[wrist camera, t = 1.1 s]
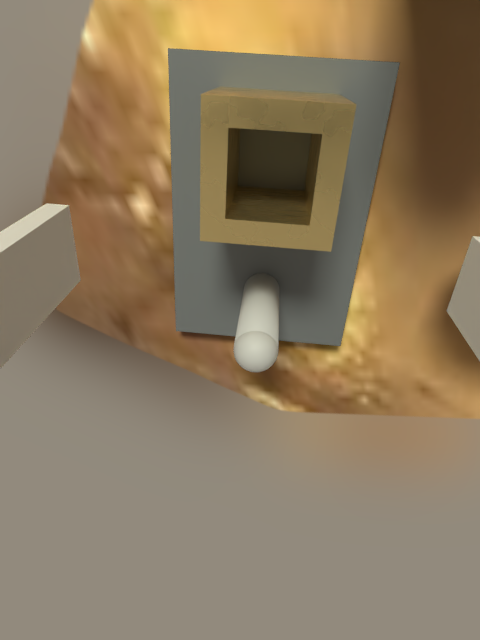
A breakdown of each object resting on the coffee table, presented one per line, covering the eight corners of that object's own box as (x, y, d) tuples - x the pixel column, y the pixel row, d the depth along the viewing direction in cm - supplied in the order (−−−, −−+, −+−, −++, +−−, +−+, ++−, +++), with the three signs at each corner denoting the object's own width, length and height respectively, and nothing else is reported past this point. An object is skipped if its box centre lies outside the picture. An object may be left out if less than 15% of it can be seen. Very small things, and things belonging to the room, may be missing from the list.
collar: (339, 94, 29) (356, 104, 22) (321, 212, 33) (331, 251, 26) (220, 86, 29) (200, 94, 22) (217, 204, 33) (199, 240, 27)
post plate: (394, 62, 29) (455, 63, 19) (338, 336, 40) (357, 431, 30) (173, 48, 30) (114, 42, 19) (179, 322, 41) (144, 409, 31)
